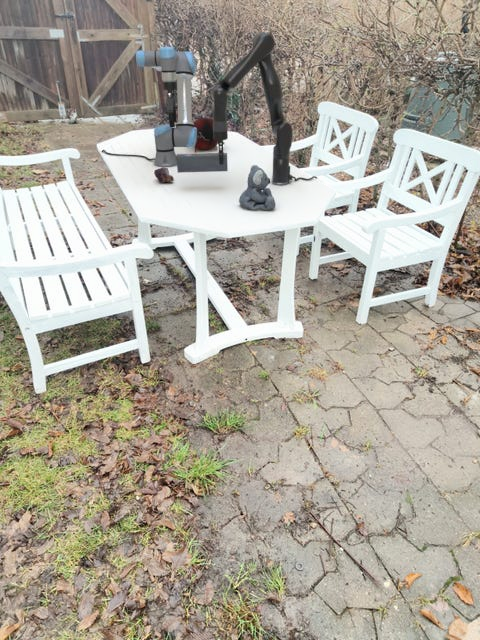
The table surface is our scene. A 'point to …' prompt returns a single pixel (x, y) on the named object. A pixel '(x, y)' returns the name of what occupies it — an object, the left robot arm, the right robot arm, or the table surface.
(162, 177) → the rock
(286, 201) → the table surface
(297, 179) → the right robot arm
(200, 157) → the bar
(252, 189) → the koala plush
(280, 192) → the table surface
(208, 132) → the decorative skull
